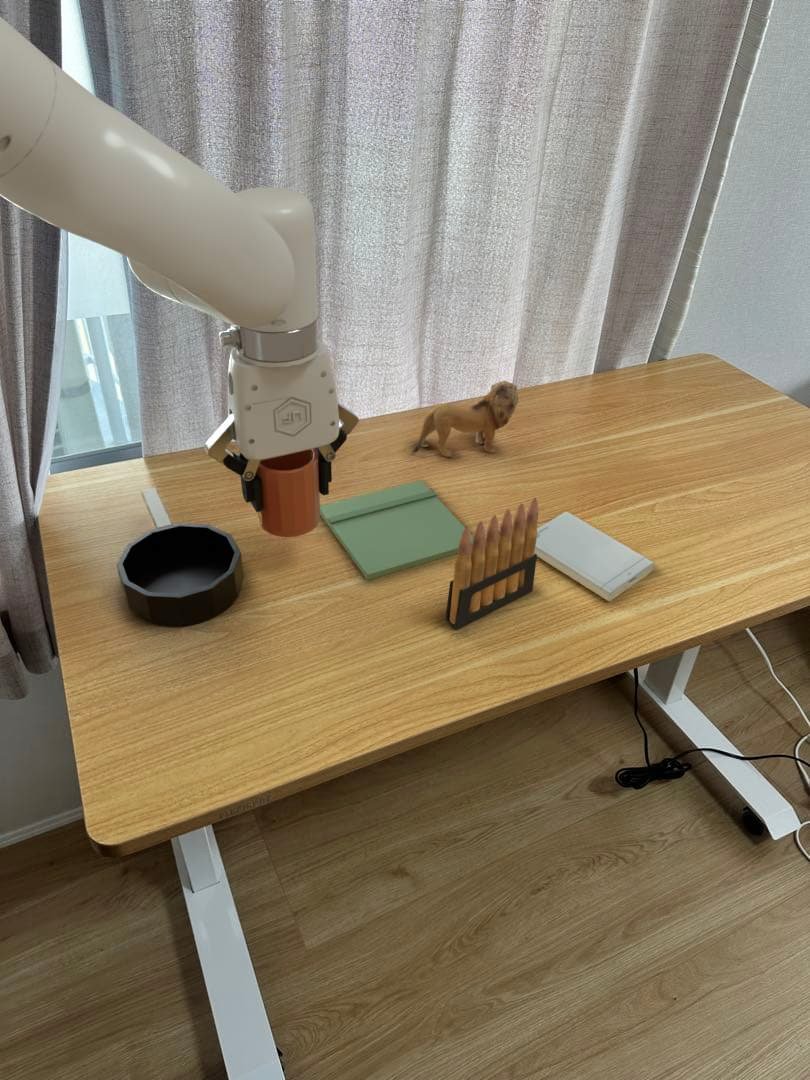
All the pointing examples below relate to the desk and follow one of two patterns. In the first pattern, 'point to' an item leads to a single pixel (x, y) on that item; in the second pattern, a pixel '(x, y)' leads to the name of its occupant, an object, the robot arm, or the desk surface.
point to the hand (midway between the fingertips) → (288, 495)
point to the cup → (290, 494)
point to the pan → (179, 570)
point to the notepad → (394, 528)
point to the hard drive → (590, 556)
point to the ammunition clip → (493, 566)
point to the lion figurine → (472, 418)
